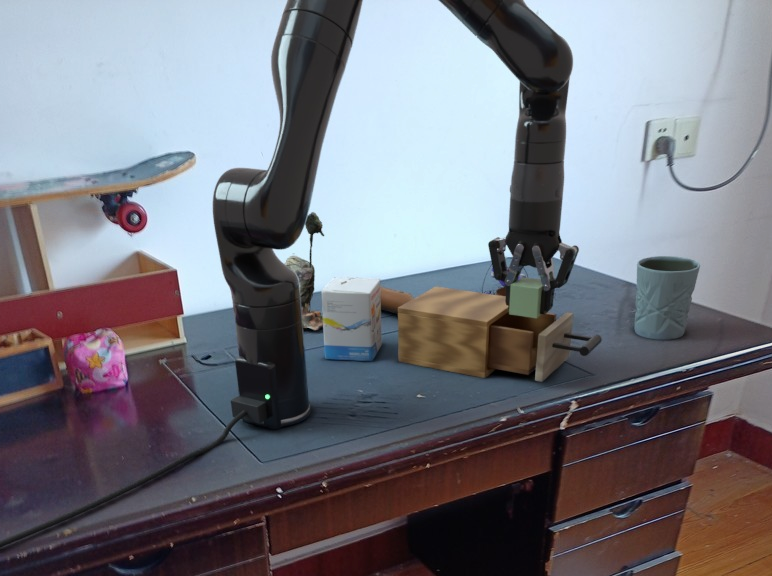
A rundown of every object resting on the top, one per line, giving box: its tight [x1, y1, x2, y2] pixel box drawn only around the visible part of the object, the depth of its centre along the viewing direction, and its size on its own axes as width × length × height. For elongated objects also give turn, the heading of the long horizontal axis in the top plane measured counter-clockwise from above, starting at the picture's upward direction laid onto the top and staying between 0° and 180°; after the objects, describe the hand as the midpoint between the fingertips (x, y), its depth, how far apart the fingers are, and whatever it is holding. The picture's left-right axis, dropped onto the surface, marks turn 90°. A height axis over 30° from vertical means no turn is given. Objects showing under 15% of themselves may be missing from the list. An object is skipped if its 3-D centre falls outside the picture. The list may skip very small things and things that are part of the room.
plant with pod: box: [284, 211, 325, 331], centre depth 149 cm, size 8×11×20 cm
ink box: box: [320, 276, 383, 362], centre depth 139 cm, size 9×8×12 cm
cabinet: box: [397, 286, 509, 379], centre depth 136 cm, size 16×13×9 cm
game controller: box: [481, 256, 529, 294], centre depth 165 cm, size 10×8×10 cm
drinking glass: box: [634, 255, 701, 341], centre depth 143 cm, size 10×10×12 cm
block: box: [509, 277, 543, 318], centre depth 127 cm, size 5×5×5 cm
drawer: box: [487, 311, 603, 382], centre depth 131 cm, size 20×12×7 cm, turn 59°
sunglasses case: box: [380, 285, 415, 315], centre depth 159 cm, size 18×7×7 cm
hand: (528, 310), depth 128 cm, fingers closed on block, 4 cm apart
